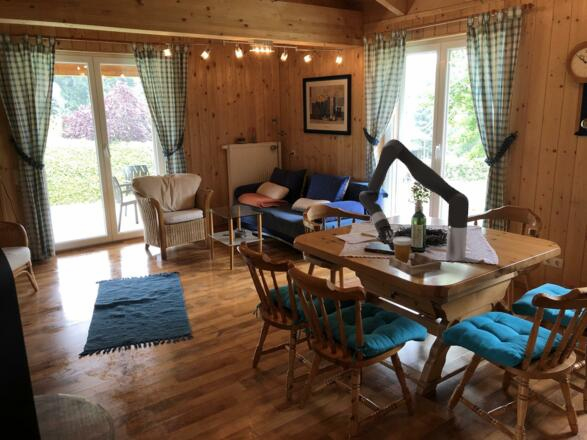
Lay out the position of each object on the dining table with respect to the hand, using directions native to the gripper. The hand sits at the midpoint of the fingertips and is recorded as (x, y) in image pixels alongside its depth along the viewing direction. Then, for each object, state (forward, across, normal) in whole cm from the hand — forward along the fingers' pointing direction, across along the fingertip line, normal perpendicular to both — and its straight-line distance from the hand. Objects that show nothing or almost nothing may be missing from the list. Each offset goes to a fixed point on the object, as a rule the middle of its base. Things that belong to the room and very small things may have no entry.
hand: (394, 250), depth 239 cm
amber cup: (+8, 0, -2) cm, 8 cm away
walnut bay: (+15, 0, -9) cm, 17 cm away
